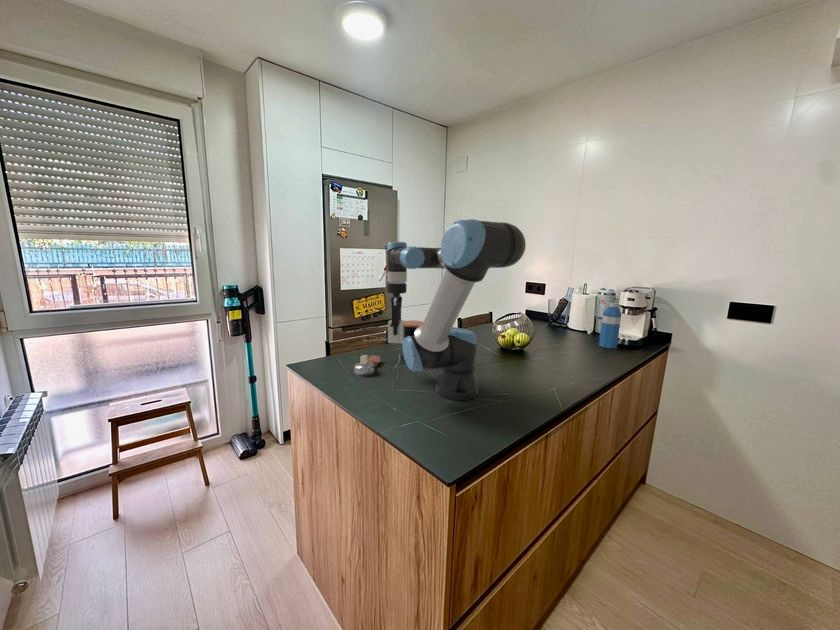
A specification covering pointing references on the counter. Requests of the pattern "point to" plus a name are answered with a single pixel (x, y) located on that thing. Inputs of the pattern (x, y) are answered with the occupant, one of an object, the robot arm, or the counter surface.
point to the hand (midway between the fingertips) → (396, 340)
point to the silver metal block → (401, 331)
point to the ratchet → (366, 365)
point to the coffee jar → (410, 330)
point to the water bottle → (610, 326)
